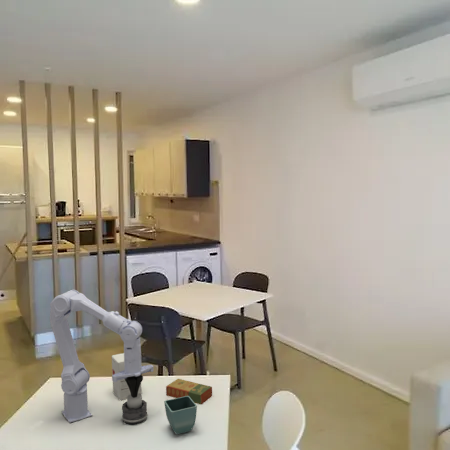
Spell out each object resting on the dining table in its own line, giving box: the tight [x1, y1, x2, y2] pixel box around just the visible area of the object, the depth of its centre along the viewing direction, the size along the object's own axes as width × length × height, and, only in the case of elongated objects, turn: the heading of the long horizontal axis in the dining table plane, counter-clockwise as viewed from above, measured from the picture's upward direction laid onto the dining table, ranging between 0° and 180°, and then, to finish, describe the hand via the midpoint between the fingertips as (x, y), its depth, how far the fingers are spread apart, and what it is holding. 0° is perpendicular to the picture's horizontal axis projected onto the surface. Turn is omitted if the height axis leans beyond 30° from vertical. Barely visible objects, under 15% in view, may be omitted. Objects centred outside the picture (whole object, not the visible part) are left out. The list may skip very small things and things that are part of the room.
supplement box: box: [111, 352, 143, 401], centre depth 175 cm, size 9×9×15 cm
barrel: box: [121, 399, 148, 426], centre depth 156 cm, size 8×8×5 cm
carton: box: [165, 378, 213, 405], centre depth 173 cm, size 8×16×4 cm, turn 60°
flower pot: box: [163, 396, 198, 435], centre depth 148 cm, size 9×9×9 cm
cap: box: [126, 394, 143, 409], centre depth 155 cm, size 5×5×4 cm
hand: (134, 396), depth 155 cm, fingers closed
